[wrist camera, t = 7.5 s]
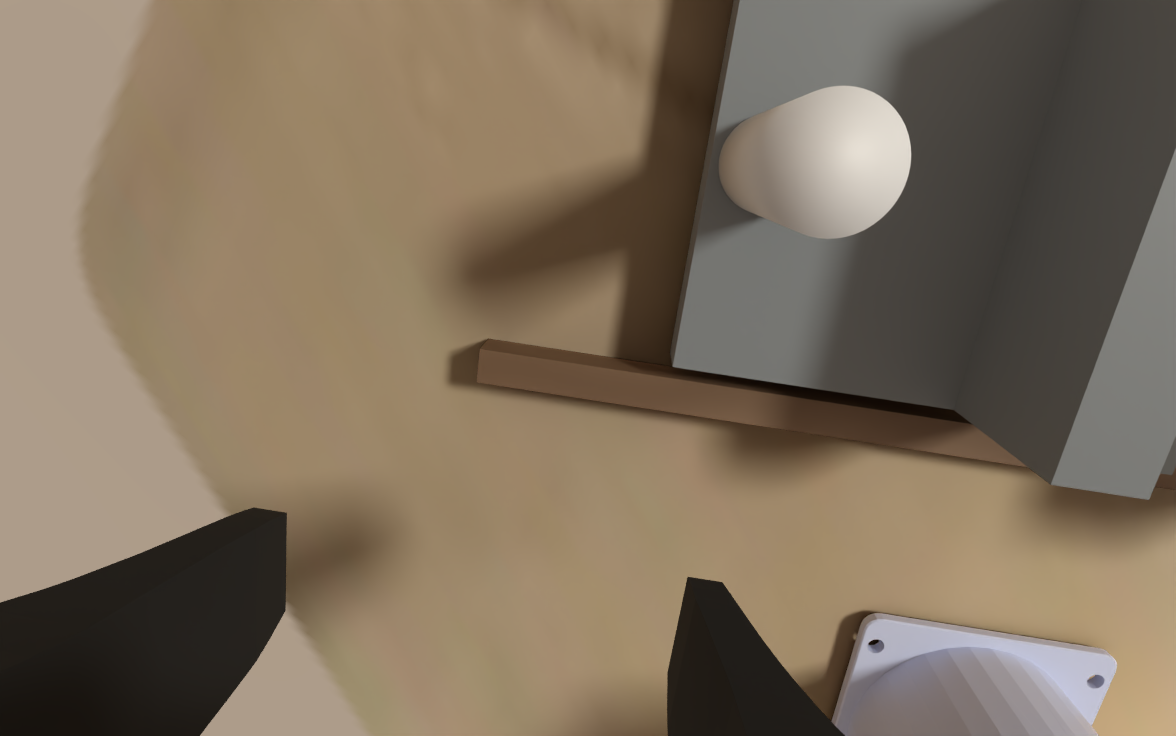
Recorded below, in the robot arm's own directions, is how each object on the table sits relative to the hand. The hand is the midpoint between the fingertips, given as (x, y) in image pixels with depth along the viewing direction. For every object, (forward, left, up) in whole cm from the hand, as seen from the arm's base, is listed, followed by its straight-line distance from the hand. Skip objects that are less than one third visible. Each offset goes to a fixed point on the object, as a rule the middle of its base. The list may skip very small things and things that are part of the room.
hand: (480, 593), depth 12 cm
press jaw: (+8, -8, -9) cm, 15 cm away
